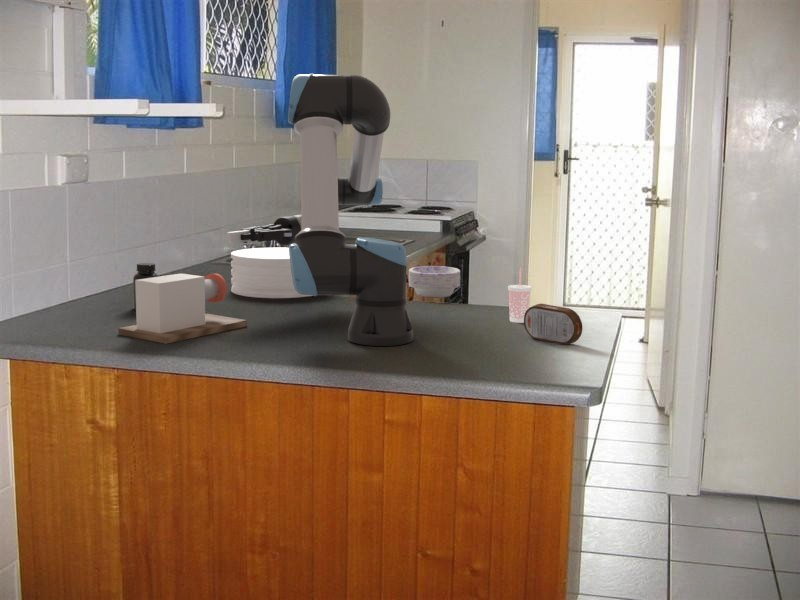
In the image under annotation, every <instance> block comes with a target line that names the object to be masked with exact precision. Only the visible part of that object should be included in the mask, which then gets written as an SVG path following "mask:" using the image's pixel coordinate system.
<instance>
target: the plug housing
mask: <svg viewBox="0 0 800 600" xmlns="http://www.w3.org/2000/svg"><path fill="white" fill-rule="evenodd" d="M205 277H206V276H203V275H202V276H201V275H195V274H187V273H174V274H167V275H161V276H159V277H153V278H146V279H139V280H135V287H136V309H135V311H136V312H135V314H136V315H135V316H136V318H135V319H136V320H135V321H136V325H137V329H139V330H144V331H150V332H155V333H165V332H170V331H175V330H180V329H185V328H190V327H194V326H199V325H204V324H205V313H206V299H205Z"/></svg>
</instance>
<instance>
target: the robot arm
mask: <svg viewBox="0 0 800 600" xmlns="http://www.w3.org/2000/svg"><path fill="white" fill-rule="evenodd" d="M289 93H290V94H289V105H288V112H287V122H288V124H291V125H293V131H294V132H295V133H296V134H297V135H298V136H299V137H300V194H301V195H300V197H301V198H300V202H301V203H300V205H301V207H300V209H301V211H300V212H301V214H297V215H296V214H295V215H290V216H281V217H280V216H279V217H278V218H277V219H275V221H273V223H271V224H270V223H269V224H267V225H261V226H260V225H254V226H251V227H246V228H240V229H239V230H235V231H228V232H226V244H229V245H230V244H238V243H239V244H240V243H243V244H248V242H258V243H259V242H268V241H270V242H271V241H276V243H277V244H279V245H281V246H288V248H289V256H290V266H291V273H292V279H293V285H294V288H295V291H296V292H297V293H299V294H301V295H313V296H314V297H317V296H355V306H354V311H353V313H352V316H351V318H350V323H349V325H348V328H347V341H349V342H351V343H354V344H357V345H364V346H371V347H373V346H375V347H390V346H400V345H405V344H409V343H411V342H412V341H414V330H413V327H412V323H411V319H410V315H409V313H408V310H407V309H408V308H407V267H408V265H409V264H408V258H407V248H406V247H405V246H404V245H403V244H402V243H400V242H397V241H393V240H387V239H381V238H376V237H375V238H374V237H362V236H361V237H360V236H359V237H357V238H356V239H355V241H354V244H353V243H352V244H351V243H347V240H346V234H344V233H343V232H342V231H341V230H340V229H339V228H340V221H339V215H340V214H339V206H340V205H341V206H366V207H367V206H378V205H381V204H382V201H383V194H384V193H383V192H384V191H383V189H384V188H383V181H382V179H381V178H379V177H378V173H379V167H380V163H381V162H380V161H381V155H382V154H381V153H382V148H383V147H382V146H383V141H384V134H385V132H386V131H387V130H388V128H389V126H390V122H391V108H390V104H389V101H388V99H387V97H386V95H385V94H384V92H383V90H381V89H380V87H379V86H378V85H377V84H376V83H375V82H374V81H372V80H371V79H369V78H367V77H364V76H361V75H356V74H350V75H349V74H314V73H309V74H307V73H306V74H297V75H296V76H294V77H293V79H292V81H291V86H290V92H289ZM344 125H350V126H351V125H352V128H353V137H352V146H351V156H350V157H351V158H350V165H349V166H350V167H349V175H348V176H349V177H348V176H347V177H344V176H343V177H341V176H339V175H338V174H339V173H338V169H339V168H338V138H337V137H338V136H339V135H340V134H342V133H343V130H344Z"/></svg>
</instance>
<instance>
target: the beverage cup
mask: <svg viewBox="0 0 800 600" xmlns="http://www.w3.org/2000/svg"><path fill="white" fill-rule="evenodd" d="M518 274H519V276H518V277H519V278H518V284H509V285H507V289H508V301H509V302H508V306H509V321H510V322H511V323H518V324H520V323H523V324H524V315H525V312H526V311H527V310H528V309H529V308H530V302H531V300H530V299H531V291H532V289H533V288H532V287H533V286H531V285H528V284H527V285H526V284H522V266H520V267H519V273H518Z"/></svg>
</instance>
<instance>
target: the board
mask: <svg viewBox="0 0 800 600" xmlns="http://www.w3.org/2000/svg"><path fill="white" fill-rule="evenodd" d="M245 327H248V320H247V319H243V318H242V319H241V318H238V317H237V318H236V317H235V318H234V317H230V316H223V315H218V314H217V315H216V314H211V313H206V312H205V324H204V325H199V326H194V327H190V328H185V329H180V330H175V331H170V332H165V333H155V332H150V331H144V330H139V329H137V324H133V325H128V326H124V327H123V326H121V327H118V331H117V332H118V335H119V336H125V337H129V338H130V337H131V338H135V339H141V340H145V341H149V342H155V343H160V344H164V345H165V344H166V345H167V344H170V343H176V342H180V341H184V340H190V339H195V338H198V337H203V336H208V335H213V334H217V333H221V332H226V331H231V330H235V329H240V328H245Z"/></svg>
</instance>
